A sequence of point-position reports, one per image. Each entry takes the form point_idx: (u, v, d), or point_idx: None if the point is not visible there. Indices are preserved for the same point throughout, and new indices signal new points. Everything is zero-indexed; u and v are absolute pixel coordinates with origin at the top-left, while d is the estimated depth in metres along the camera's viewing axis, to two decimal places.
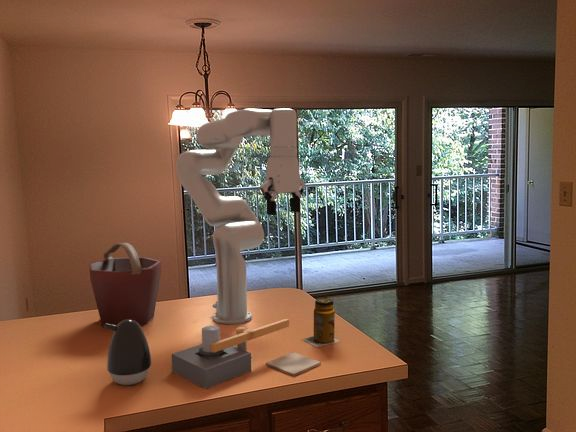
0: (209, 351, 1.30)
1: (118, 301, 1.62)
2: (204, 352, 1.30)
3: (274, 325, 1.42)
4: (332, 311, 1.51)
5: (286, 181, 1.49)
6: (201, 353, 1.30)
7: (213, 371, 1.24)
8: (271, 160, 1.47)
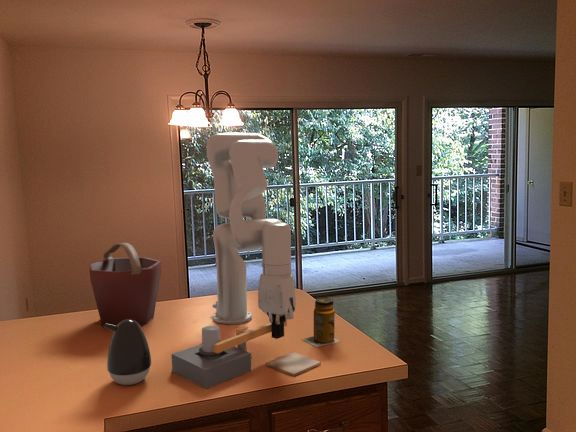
0: (209, 351, 1.30)
1: (118, 301, 1.62)
2: (204, 352, 1.30)
3: None
4: (332, 311, 1.51)
5: None
6: (201, 353, 1.30)
7: (213, 371, 1.24)
8: (288, 279, 1.36)
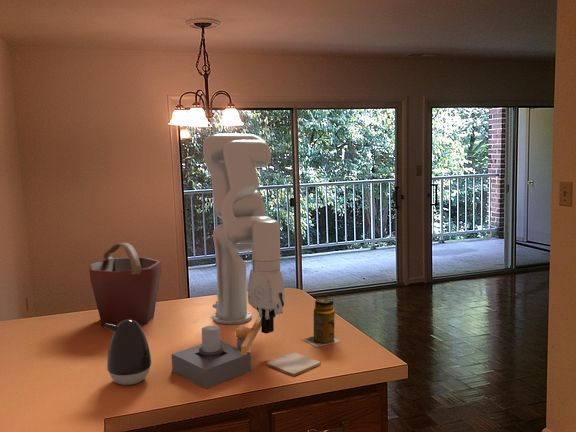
0: (209, 351, 1.30)
1: (118, 301, 1.62)
2: (204, 352, 1.30)
3: None
4: (332, 311, 1.51)
5: None
6: (201, 353, 1.30)
7: (213, 371, 1.24)
8: (277, 275, 1.39)
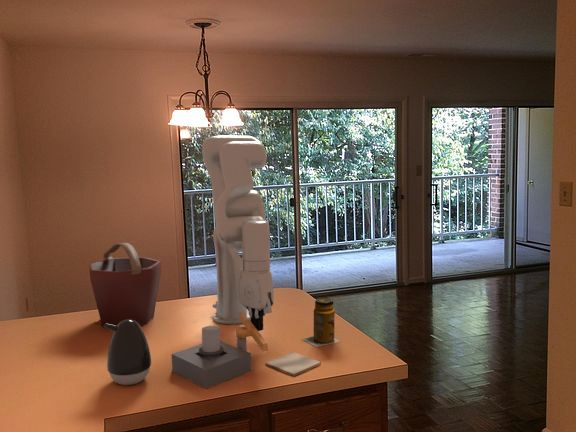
0: (209, 351, 1.30)
1: (118, 301, 1.62)
2: (204, 352, 1.30)
3: (247, 318, 1.48)
4: (332, 311, 1.51)
5: None
6: (201, 353, 1.30)
7: (213, 371, 1.24)
8: (266, 275, 1.41)
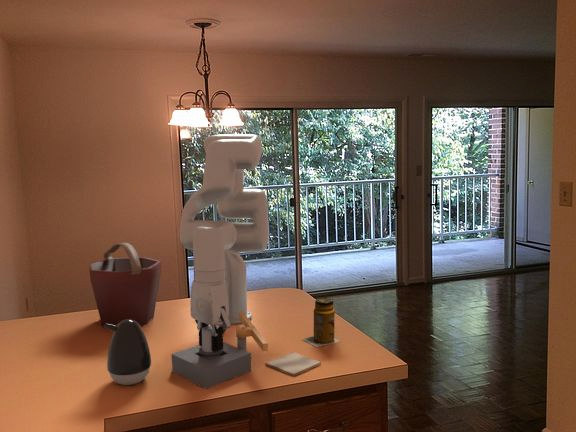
0: (209, 351, 1.30)
1: (118, 301, 1.62)
2: (204, 352, 1.30)
3: (247, 318, 1.48)
4: (332, 311, 1.51)
5: None
6: (201, 353, 1.30)
7: (213, 371, 1.24)
8: (220, 287, 1.27)
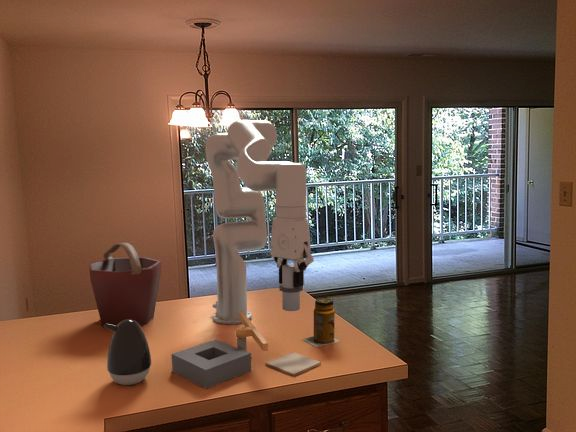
0: (290, 287, 1.32)
1: (118, 301, 1.62)
2: (285, 288, 1.32)
3: (247, 318, 1.48)
4: (332, 311, 1.51)
5: None
6: (282, 289, 1.32)
7: (213, 371, 1.24)
8: (303, 222, 1.28)
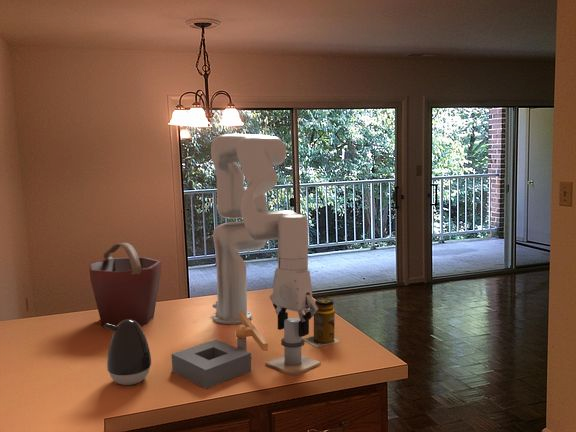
0: (292, 342, 1.34)
1: (118, 301, 1.62)
2: (287, 343, 1.34)
3: (247, 318, 1.48)
4: (332, 311, 1.51)
5: None
6: (284, 344, 1.34)
7: (213, 371, 1.24)
8: (305, 274, 1.30)
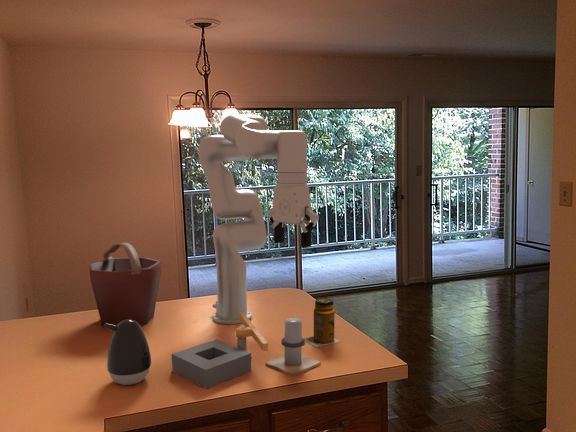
0: (292, 342, 1.34)
1: (118, 301, 1.62)
2: (288, 343, 1.34)
3: (247, 318, 1.48)
4: (332, 311, 1.51)
5: None
6: (285, 344, 1.34)
7: (213, 371, 1.24)
8: (304, 187, 1.33)
